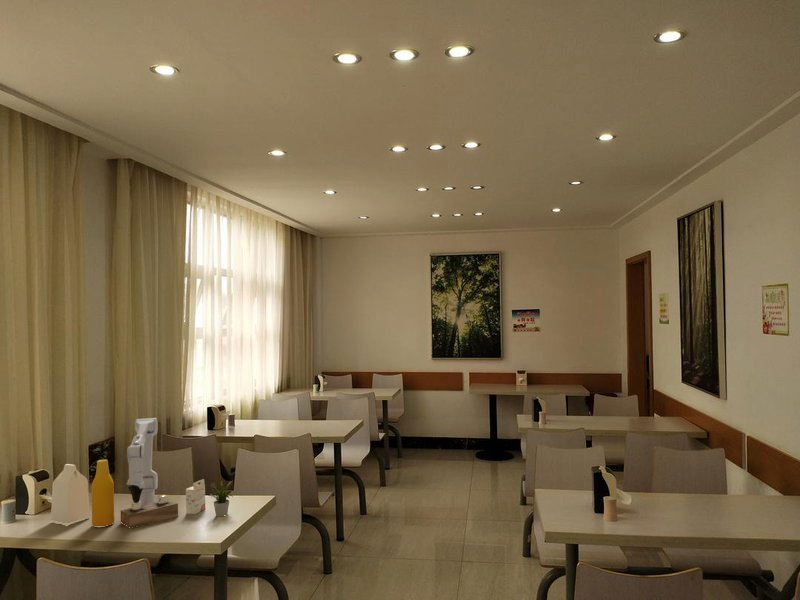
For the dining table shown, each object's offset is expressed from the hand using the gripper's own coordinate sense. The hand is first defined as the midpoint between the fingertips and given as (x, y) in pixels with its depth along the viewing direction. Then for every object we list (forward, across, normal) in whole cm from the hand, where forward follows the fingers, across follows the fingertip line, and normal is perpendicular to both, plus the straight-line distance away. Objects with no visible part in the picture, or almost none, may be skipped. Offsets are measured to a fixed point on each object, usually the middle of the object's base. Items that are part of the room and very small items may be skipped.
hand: (136, 501), depth 274 cm
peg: (+6, 0, +12) cm, 14 cm away
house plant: (+10, +20, +30) cm, 37 cm away
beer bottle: (+10, -10, -11) cm, 18 cm away
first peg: (+6, 0, 0) cm, 6 cm away
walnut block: (+10, 0, +6) cm, 11 cm away
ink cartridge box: (+10, +5, +26) cm, 28 cm away
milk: (+10, -29, -19) cm, 36 cm away
